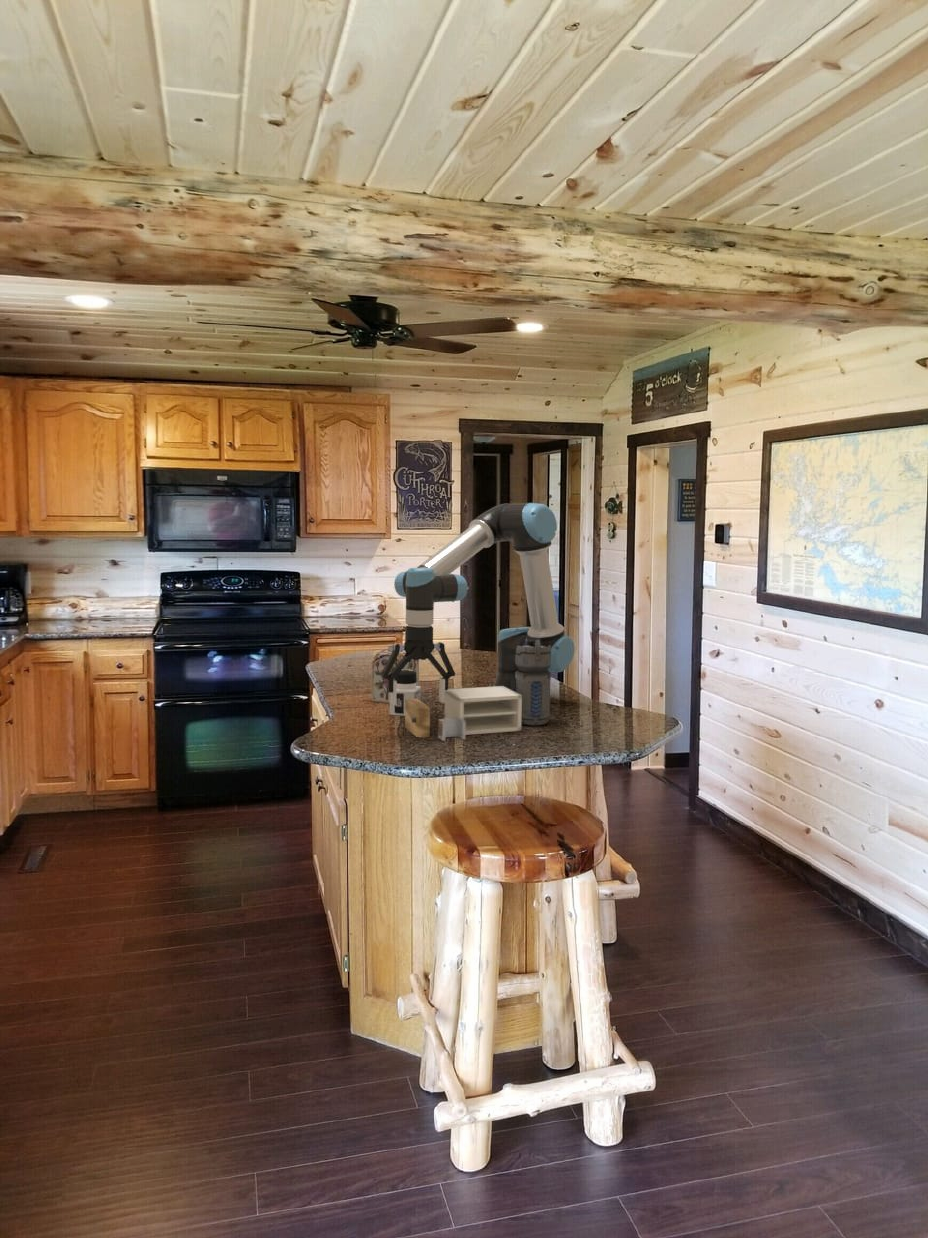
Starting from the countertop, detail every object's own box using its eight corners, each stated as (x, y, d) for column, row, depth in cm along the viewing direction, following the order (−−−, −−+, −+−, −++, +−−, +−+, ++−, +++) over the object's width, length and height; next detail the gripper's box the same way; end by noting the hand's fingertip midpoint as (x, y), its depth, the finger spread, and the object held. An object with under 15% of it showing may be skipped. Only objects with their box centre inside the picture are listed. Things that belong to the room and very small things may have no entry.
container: (414, 716, 254) (414, 673, 253) (389, 715, 256) (389, 672, 254) (420, 711, 262) (421, 669, 260) (396, 709, 263) (396, 667, 262)
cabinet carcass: (502, 719, 252) (503, 685, 251) (521, 730, 239) (521, 695, 238) (443, 723, 246) (444, 689, 245) (459, 735, 233) (460, 698, 232)
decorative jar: (370, 702, 274) (370, 646, 272) (387, 695, 285) (387, 641, 283) (404, 705, 270) (404, 648, 267) (420, 698, 280) (420, 643, 278)
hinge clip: (460, 735, 232) (460, 717, 232) (465, 739, 229) (465, 720, 228) (437, 737, 230) (438, 719, 230) (442, 741, 226) (442, 722, 226)
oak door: (417, 726, 242) (417, 698, 241) (429, 737, 231) (429, 707, 230) (401, 727, 241) (402, 699, 240) (413, 738, 230) (413, 708, 229)
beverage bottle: (542, 716, 257) (544, 633, 254) (554, 726, 244) (556, 639, 241) (509, 717, 255) (511, 633, 252) (518, 727, 242) (520, 639, 239)
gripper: (458, 623, 239) (456, 698, 241) (370, 624, 231) (369, 702, 233) (467, 626, 232) (465, 703, 234) (377, 627, 224) (376, 708, 226)
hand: (417, 703), depth 233 cm, fingers open, 13 cm apart
